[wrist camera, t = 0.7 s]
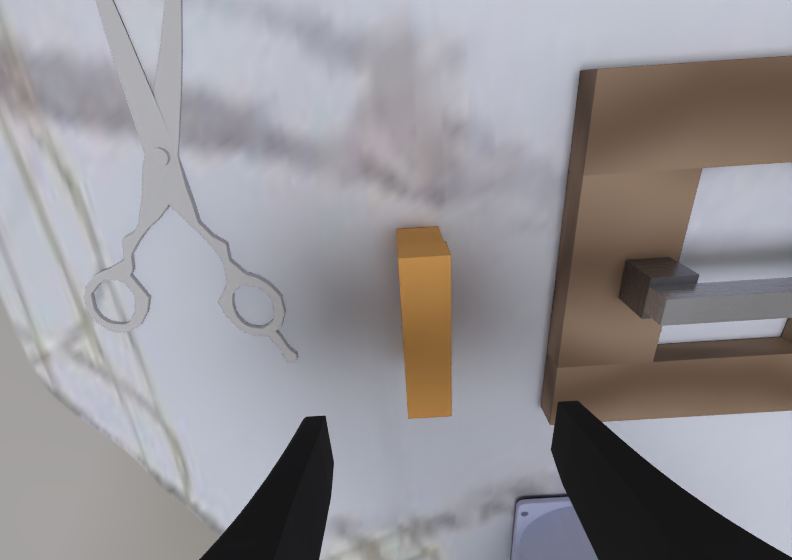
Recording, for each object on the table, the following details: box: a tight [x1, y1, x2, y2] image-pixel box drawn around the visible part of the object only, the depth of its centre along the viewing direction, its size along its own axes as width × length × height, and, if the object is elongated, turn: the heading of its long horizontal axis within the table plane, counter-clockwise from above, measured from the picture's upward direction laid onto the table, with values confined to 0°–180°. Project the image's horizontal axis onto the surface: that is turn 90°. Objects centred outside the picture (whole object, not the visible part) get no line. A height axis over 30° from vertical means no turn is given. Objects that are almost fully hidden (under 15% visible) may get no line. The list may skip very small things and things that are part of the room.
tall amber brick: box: [397, 226, 452, 419], centre depth 19 cm, size 8×2×4 cm, turn 3°
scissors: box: [84, 0, 298, 362], centre depth 18 cm, size 11×1×20 cm
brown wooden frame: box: [541, 56, 792, 425], centre depth 20 cm, size 18×18×2 cm
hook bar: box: [618, 257, 792, 326], centre depth 18 cm, size 2×13×3 cm, turn 93°
